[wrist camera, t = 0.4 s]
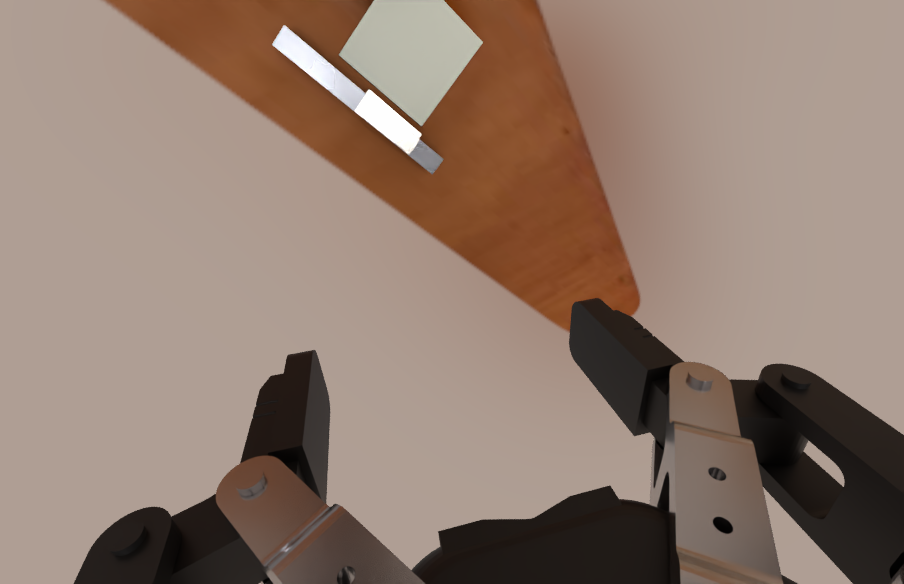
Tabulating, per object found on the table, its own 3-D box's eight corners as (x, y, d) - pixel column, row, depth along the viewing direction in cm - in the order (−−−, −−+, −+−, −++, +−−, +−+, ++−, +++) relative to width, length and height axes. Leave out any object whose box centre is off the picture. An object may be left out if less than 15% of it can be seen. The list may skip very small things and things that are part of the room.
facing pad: (338, 55, 32) (338, 54, 31) (402, -43, 30) (402, -44, 29) (421, 126, 35) (421, 126, 35) (482, 42, 33) (483, 42, 33)
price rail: (278, 47, 30) (271, 44, 28) (292, 25, 30) (286, 19, 27) (426, 167, 37) (432, 175, 34) (439, 150, 36) (447, 156, 33)
